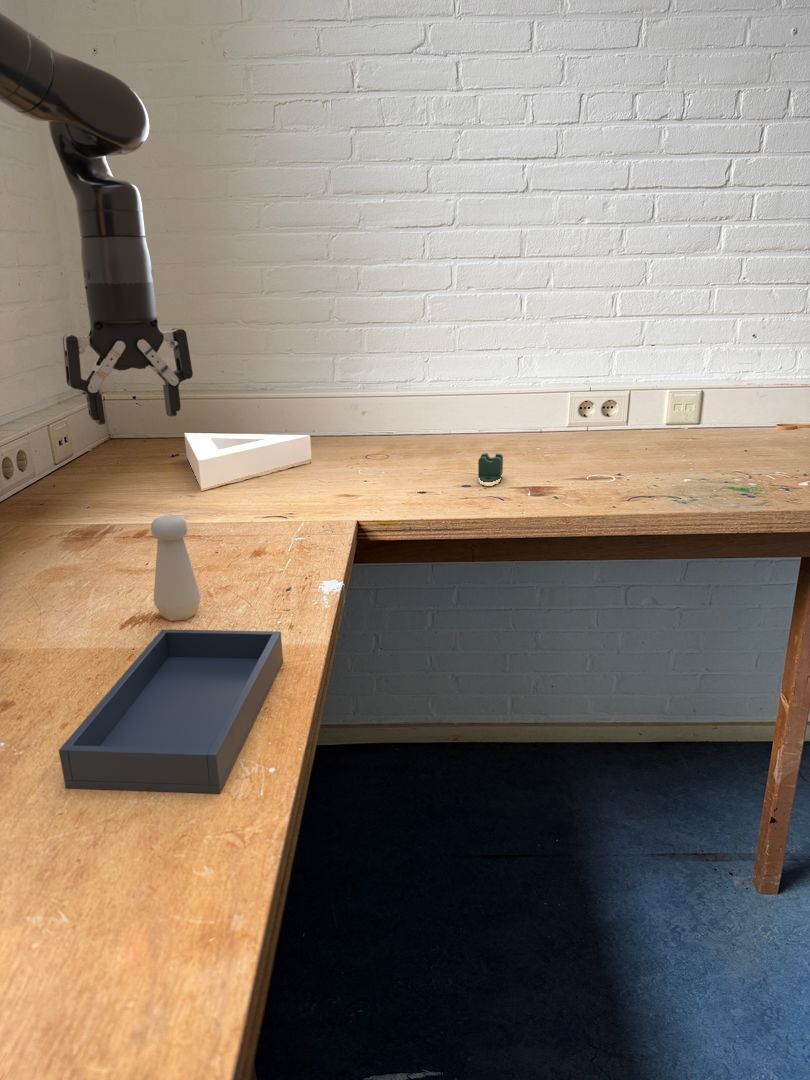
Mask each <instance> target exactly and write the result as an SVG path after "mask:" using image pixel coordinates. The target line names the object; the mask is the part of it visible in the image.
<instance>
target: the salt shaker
mask: <svg viewBox="0 0 810 1080" xmlns="http://www.w3.org/2000/svg"><path fill="white" fill-rule="evenodd" d="M188 530H189V529H188V522H187V519H186V518H185V517H183V516H181V515H177V514H167V515H162V516H158V517H156V518H154V520H152V522H151V524H150V532H151V535H152V537H153V538H154V539H155V540H157V545H156V556H155V557H156V558H155V572H154V573H155V574H154V585H153V586H154V587H153V604H154V606H155V607H156V609H157V610H158V612H159V613H160V615H161V616H162V618H164V619H166V620H167V621H170V622H176V621H186V620H188V619H190V618H192V617H194V616H196V615H197V612H198V609H199V605H200V602H201V597H202V592H201V589H200V586H199V583H198V580H197V577H196V574H195V571H194V568H193V565H192V561H191V558H190V556H189V555H190V554H189V551H188V549H187V546H186V543H185V540H184V537H185V536H187V534H188Z"/></svg>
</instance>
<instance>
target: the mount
mask: <svg viewBox="0 0 810 1080" xmlns="http://www.w3.org/2000/svg"><path fill="white" fill-rule="evenodd" d="M477 464H478V466H477V467H478V470H477V471H478V474H477V475H478V476H477V477H479V478H480V480H481V481H483V482H493V481H496V480H498V479H500V478H501V475H502V473H503V472H504V470H503V469H504V455H503V454H502V453H495V456H494V457H490V455H489V453H487V452H483V453H481V455H480V457H479V459H478V463H477Z"/></svg>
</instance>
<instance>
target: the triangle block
mask: <svg viewBox="0 0 810 1080" xmlns="http://www.w3.org/2000/svg"><path fill="white" fill-rule="evenodd" d="M183 434H184V444H185V445H184V447H185V455H186V459H187V458H188V460H189V462H190V465H191V467H192V469H193V471H194V474H195V476H196V478H197V481H198V483H199V485H200V487H201V489H203V488H207V487H210V486H214V485H217V484H221V483H224V482H228V481H231V480H234V479H237V478H241V477H245V476H248V475H252V474H256V473H260V472H264V471H267V470H271V469H274V468H278V467H282V466H286V465H290V464H294V463H298V462H301V461H305V460H308V459H312V446H311V445H312V444H311V434H266V433H265V434H263V433H261V434H260V433H259V434H258V433H257V434H256V433H211V432H209V433H207V432H206V433H205V432H184V433H183ZM190 465H189V466H190ZM191 467H190V468H191ZM194 474H193V475H194ZM195 476H194V477H195ZM196 478H195V479H196ZM197 481H196V482H197ZM198 483H197V484H198ZM199 485H198V486H199ZM200 487H199V488H200ZM201 489H200V490H201Z"/></svg>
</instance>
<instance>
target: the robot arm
mask: <svg viewBox="0 0 810 1080" xmlns="http://www.w3.org/2000/svg"><path fill="white" fill-rule="evenodd" d="M0 103H2V104H3V105H5V106H6V107H8V108H10V109H12V110H13V111H15V112H17V113H18V114H21V115H23V116H24V117H26V118H29V119H32V120H35V121H40V122H48V123H47V124H48V130H49V134H50V135H49V136H50V139H51V141H52V144H53V147H54V149H55V152H56V155H57V157H58V160H59V162H60V164H61V167H62V170H63V173H64V176H65V178H66V180H67V182H68V185H69V187H70V190H71V192H72V194H73V197H74V200H75V206H76V207H75V208H76V214H77V221H78V222H77V223H78V228H79V235H80V236H79V237H80V256H81V257H80V260H81V261H80V262H81V269H82V275H83V281H84V289H85V296H86V303H87V310H88V311H87V312H88V318H89V325H90V329H89V333H88V335H73V334H64V335H63V337H62V347H63V357H64V369H65V380H66V384H67V386H69V387H71V388H72V389H74V390H79V391H83V392H84V393H85V398H86V403H87V410H88V411H87V412H88V415H89V417H90V419H91V420H92V421H95V423H96V424H97V425H98V426H100V425H101V426H102V425H106V417H105V410H104V402H103V395H102V392H100V388H101V387H102V385H103V383H104V381H105V380H106V378H108V376H109V375H110V373H111V372H112V370H113V369H114V370H117V371H120V372H121V371H128V370H130V369H137V370H143V369H146V368H147V367H149V368H151V369H152V371H154V372H155V373H156V374H157V375H158V376H159V377H160V378H161V380H163V382H164V384H163V385H162V389H163V398H164V407H165V414H166V416H168V417H171V418H172V417H177V415H178V413H177V412H179V411H181V398H180V397H181V396H180V384H181V383H182V382H183V381H186V380H190V379H192V377H193V376H194V375H193V374H194V372H193V366H192V361H191V354H190V349H189V342H188V336H187V332H186V330H184V329H183V328H177V327H174V328H172V329H171V330H164V331H163V330H161V329H160V326H159V323H158V322H159V321H158V313H157V304H156V303H157V302H156V294H155V286H154V270H153V268H152V261H151V255H150V251H149V247H148V244H147V243H148V242H147V238H146V228H145V220H144V212H143V203H142V197H141V193H140V191H139V189H138V187H137V186H136V185H135V184H133V183H132V182H129V181H126V180H123V179H118V178H115V177H114V176H113V173H112V171H111V169H110V167H109V164H108V161H107V159H106V157H112V156H124V155H129V154H131V153H134V152H136V151H138V150H139V149H140V148H142V147H143V145H145V144H146V141H147V139H148V136H149V133H150V132H149V131H150V120H149V116H148V112H147V109H146V107H145V105H144V103H143V101H142V100H141V98H140V96H139V95H138V94H137V92H135V90H133V88H131V86H129V85H128V84H127V83H126V82H124V81H123V80H122V79H120V78H119V77H117V76H115V75H113V74H111V73H109V72H107V71H106V70H103V69H101V68H98V67H96V66H94V65H92V64H89V63H87V62H85V61H83V60H81V59H78V58H75V57H73V56H70V55H67V54H65V53H63V52H62V53H61V52H60V51H57V50H55V49H54V48H53V47H52V46H51V45H49V44H48V43H46V42H45V41H44V40H42V39H41V38H39V37H38V36H36V35H35V34H33V33H32V32H30V31H29V30H27V28H25V27H23V26H22V25H21V24H19V23H17V22H16V21H15V20H13V19H12V18H11V17H9V16H7V15H6V14H4V13H2V11H0ZM164 341H165V342H166V343H167V346H168V347H169V348H171V349H172V350H173V356H174V362H175V368H176V370H174V371H173V370H172V369H171V368H170V367H169V365H168V364H167V363H166V362H165V360H163V359H162V358H161V356H160V355H159V353H158V352H159V350H160V348H161V346H162V345H163V343H164ZM87 346H90V348H91V349H92V350H93V351H94V352H95V353H96V354H97V355H98V357H97V358H96V360H95V361H94V363H93V365H92V367H91V370H90V372H89V374H88V375H87V377H86V379H84V378H82V371H81V360H80V359H81V358H80V356H81V355H83V354H85V351H86V348H87Z"/></svg>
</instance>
